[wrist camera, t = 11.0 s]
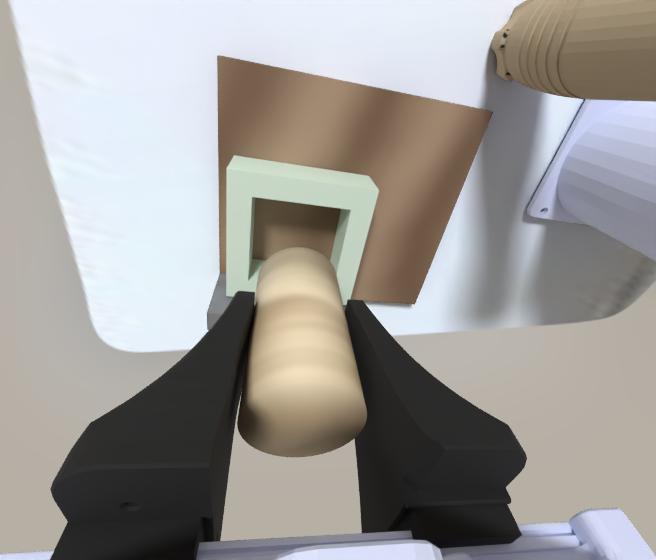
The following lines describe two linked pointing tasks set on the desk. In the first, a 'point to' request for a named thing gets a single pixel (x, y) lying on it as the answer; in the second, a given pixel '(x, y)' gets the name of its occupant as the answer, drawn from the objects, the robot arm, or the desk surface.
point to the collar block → (297, 187)
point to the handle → (581, 48)
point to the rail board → (347, 168)
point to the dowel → (300, 361)
